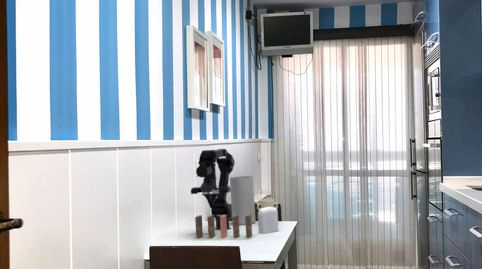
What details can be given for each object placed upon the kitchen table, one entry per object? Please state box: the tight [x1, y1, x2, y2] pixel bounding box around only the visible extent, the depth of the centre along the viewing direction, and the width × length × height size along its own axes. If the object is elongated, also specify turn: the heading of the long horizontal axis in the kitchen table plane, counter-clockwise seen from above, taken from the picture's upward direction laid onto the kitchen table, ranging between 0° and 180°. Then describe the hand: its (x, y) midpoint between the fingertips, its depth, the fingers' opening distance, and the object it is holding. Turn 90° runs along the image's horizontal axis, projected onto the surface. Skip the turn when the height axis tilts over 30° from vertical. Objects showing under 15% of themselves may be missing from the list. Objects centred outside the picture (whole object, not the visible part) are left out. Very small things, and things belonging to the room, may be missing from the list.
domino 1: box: [194, 214, 204, 239], centre depth 238 cm, size 2×5×10 cm, turn 166°
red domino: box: [220, 215, 228, 238], centre depth 235 cm, size 2×5×10 cm, turn 166°
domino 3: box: [231, 215, 241, 238], centre depth 234 cm, size 2×5×10 cm, turn 165°
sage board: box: [191, 233, 257, 241], centre depth 235 cm, size 28×13×1 cm, turn 76°
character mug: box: [256, 198, 279, 211], centre depth 267 cm, size 11×7×13 cm, turn 95°
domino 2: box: [207, 214, 216, 238], centre depth 237 cm, size 2×5×10 cm, turn 166°
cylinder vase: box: [229, 175, 256, 226], centre depth 275 cm, size 12×12×25 cm
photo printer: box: [257, 206, 279, 235], centre depth 243 cm, size 10×4×12 cm, turn 123°
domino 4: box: [245, 214, 253, 238], centre depth 232 cm, size 2×5×10 cm, turn 166°
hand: (211, 207), depth 247 cm, fingers closed
